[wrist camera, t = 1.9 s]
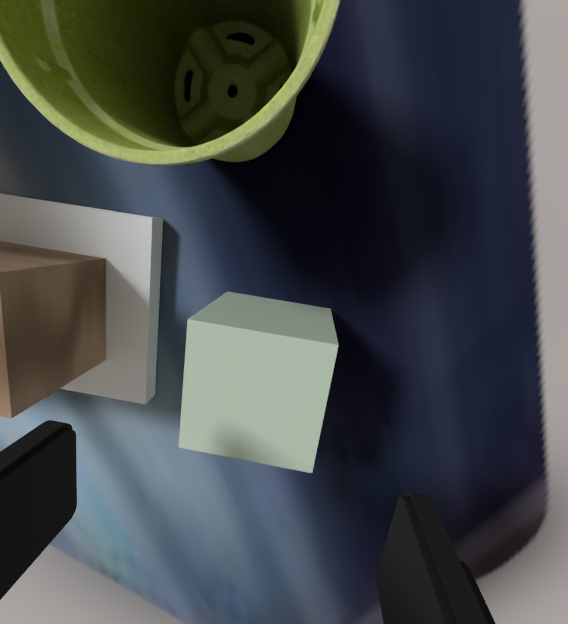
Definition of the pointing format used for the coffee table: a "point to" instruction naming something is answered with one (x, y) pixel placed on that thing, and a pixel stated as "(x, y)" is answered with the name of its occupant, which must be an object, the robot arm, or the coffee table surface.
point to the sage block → (257, 380)
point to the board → (119, 283)
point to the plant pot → (165, 72)
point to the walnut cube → (48, 322)
